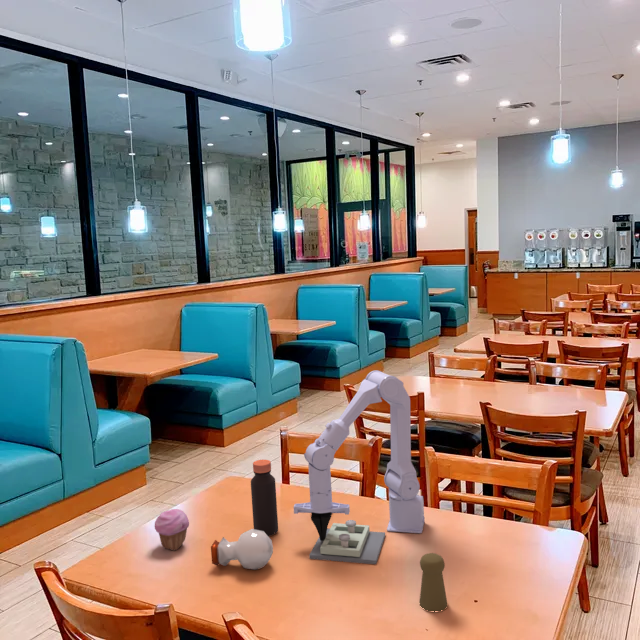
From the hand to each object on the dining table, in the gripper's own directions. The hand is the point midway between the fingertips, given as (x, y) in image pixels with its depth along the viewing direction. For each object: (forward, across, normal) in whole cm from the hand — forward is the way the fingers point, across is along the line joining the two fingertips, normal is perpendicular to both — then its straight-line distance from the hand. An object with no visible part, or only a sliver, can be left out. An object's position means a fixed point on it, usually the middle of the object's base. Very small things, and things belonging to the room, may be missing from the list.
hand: (323, 538), depth 163 cm
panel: (0, -6, +1) cm, 6 cm away
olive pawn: (+2, -28, +25) cm, 38 cm away
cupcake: (+2, +40, +3) cm, 40 cm away
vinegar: (+2, +17, -7) cm, 19 cm away
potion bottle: (+2, +18, +12) cm, 22 cm away
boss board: (+2, -7, +1) cm, 7 cm away
